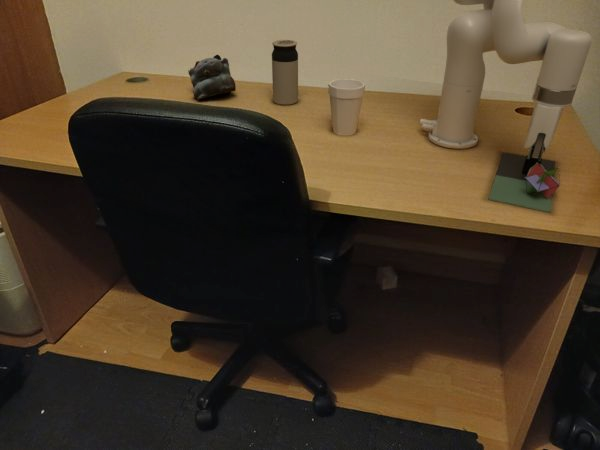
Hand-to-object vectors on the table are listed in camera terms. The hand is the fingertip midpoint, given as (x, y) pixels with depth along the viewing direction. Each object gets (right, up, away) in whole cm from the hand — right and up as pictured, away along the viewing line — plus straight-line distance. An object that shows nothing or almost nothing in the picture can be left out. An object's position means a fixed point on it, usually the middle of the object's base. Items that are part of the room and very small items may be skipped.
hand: (529, 173), depth 109 cm
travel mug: (-57, +28, +44) cm, 77 cm away
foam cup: (-40, +14, +24) cm, 48 cm away
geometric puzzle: (-1, -5, -7) cm, 9 cm away
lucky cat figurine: (-81, +31, +49) cm, 99 cm away
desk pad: (-1, -1, 0) cm, 2 cm away
